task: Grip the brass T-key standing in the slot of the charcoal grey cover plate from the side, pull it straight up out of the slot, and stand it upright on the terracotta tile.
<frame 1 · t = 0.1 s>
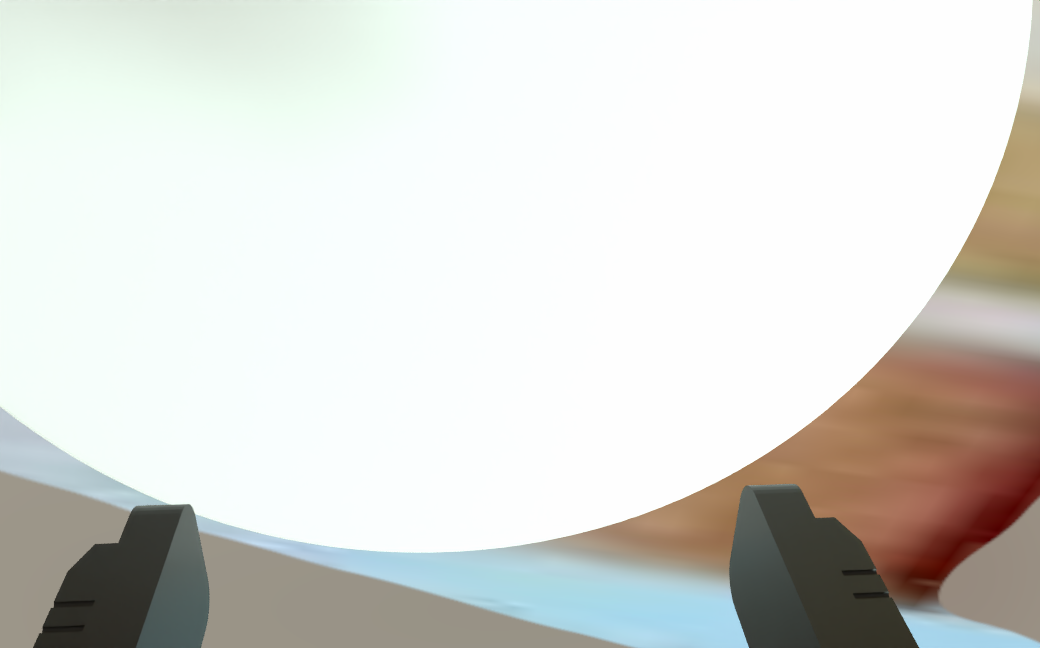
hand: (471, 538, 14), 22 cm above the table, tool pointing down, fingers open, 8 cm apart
plate stack: (434, 2, 32), on the table
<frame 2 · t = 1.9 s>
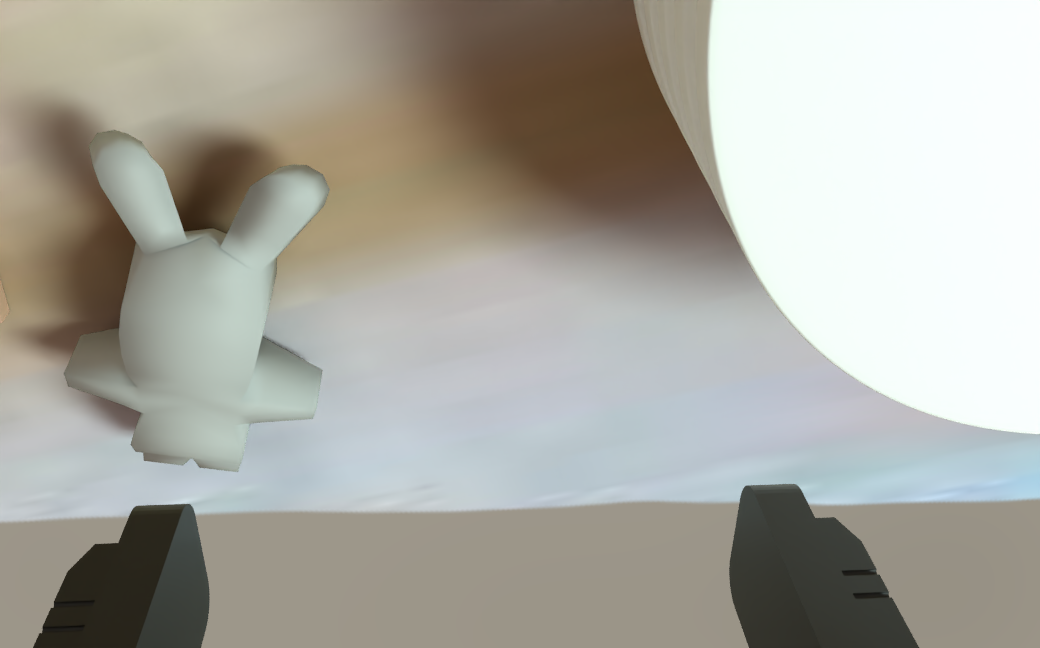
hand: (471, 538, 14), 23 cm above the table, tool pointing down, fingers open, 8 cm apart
bunny figurine: (214, 285, 39), on the table
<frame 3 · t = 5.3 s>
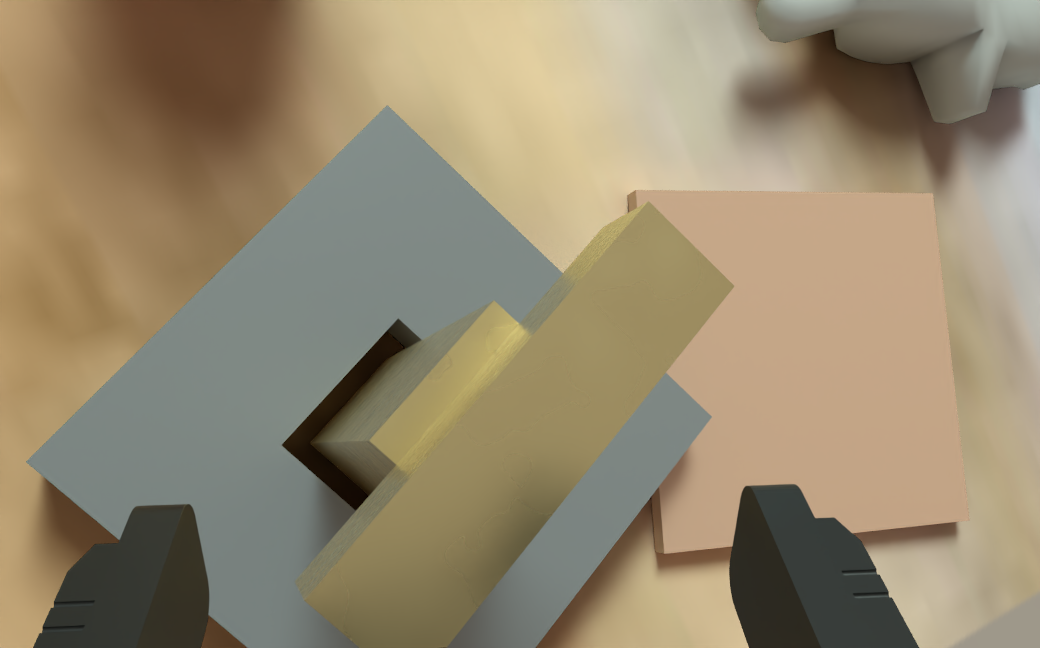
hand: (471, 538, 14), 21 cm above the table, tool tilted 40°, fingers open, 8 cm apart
bunny figurine: (874, 20, 44), on the table
t key: (440, 435, 27), in the cover plate
tile: (797, 362, 40), on the table
cover plate: (389, 437, 35), on the table
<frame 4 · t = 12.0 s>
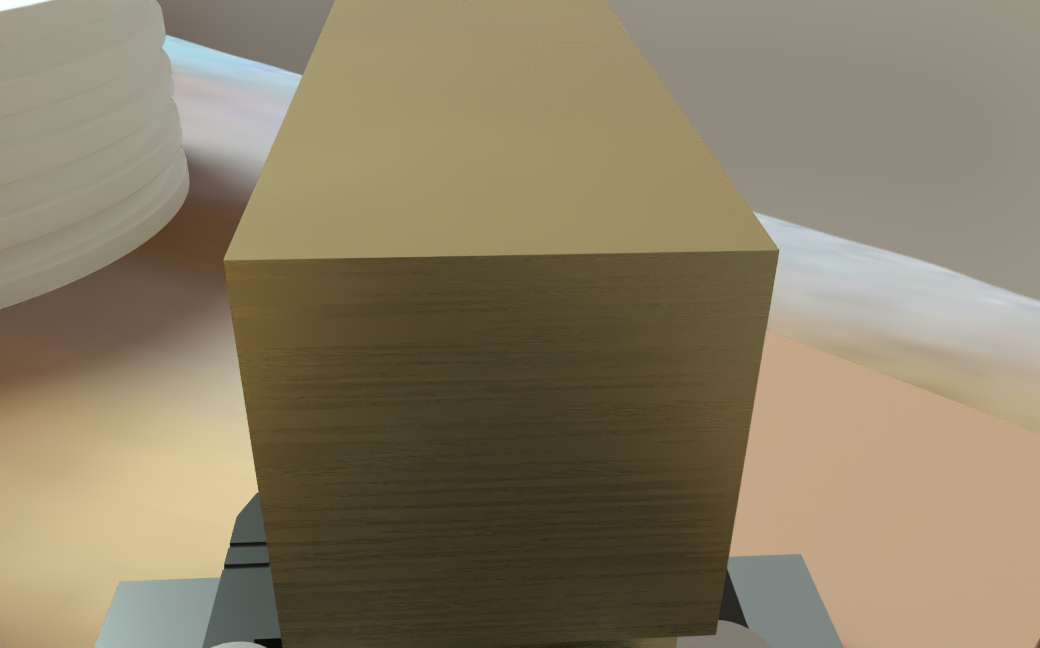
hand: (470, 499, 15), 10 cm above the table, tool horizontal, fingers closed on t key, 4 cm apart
tile: (811, 498, 30), on the table
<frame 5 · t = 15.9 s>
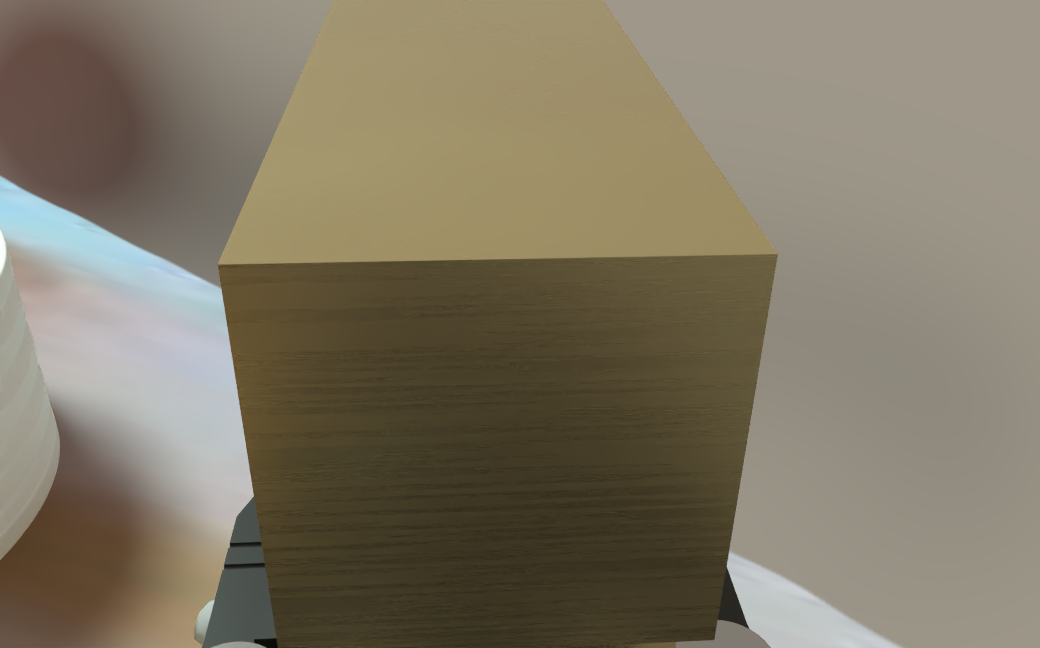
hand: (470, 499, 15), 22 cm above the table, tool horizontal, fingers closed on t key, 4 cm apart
bunny figurine: (406, 640, 41), on the table
when the fingers open (11 cm above the table, at t = 19.6 s): t key stays where it is, resting on tile.
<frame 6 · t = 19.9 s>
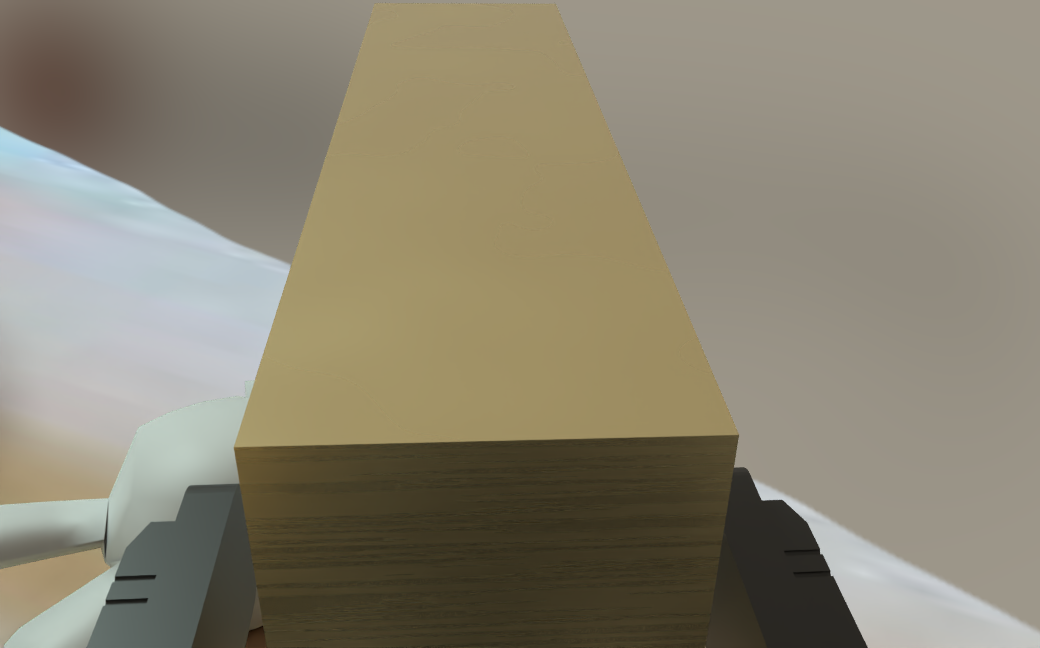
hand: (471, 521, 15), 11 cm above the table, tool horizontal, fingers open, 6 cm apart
bunny figurine: (261, 573, 30), on the table
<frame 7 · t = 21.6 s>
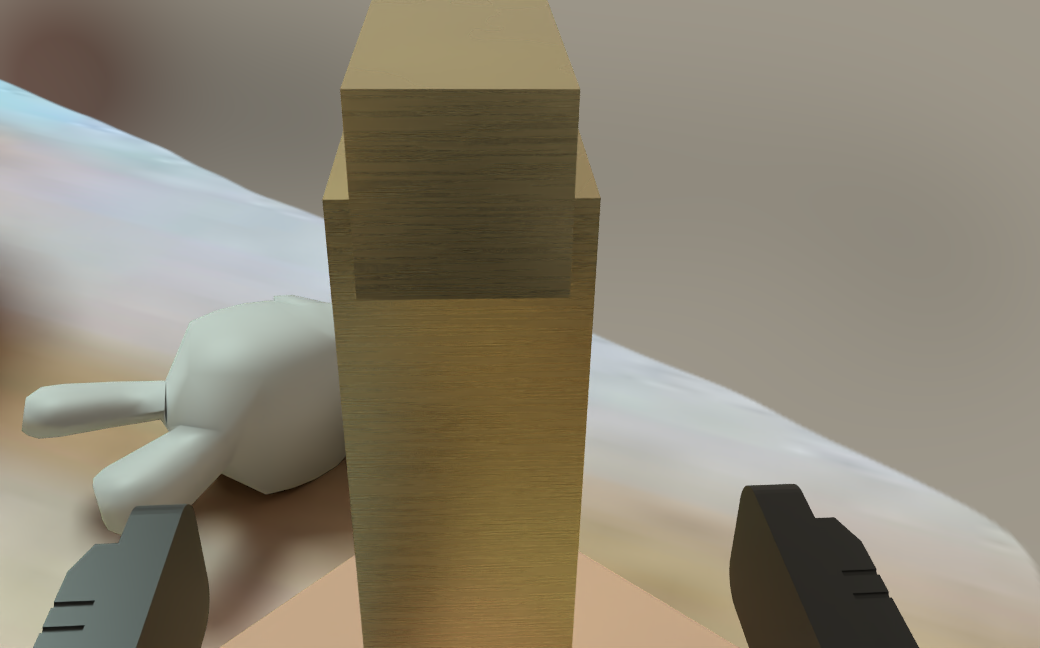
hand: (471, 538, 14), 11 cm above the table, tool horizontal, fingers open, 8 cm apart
bunny figurine: (291, 452, 35), on the table
t key: (466, 457, 19), on the tile, point 10 cm above the table
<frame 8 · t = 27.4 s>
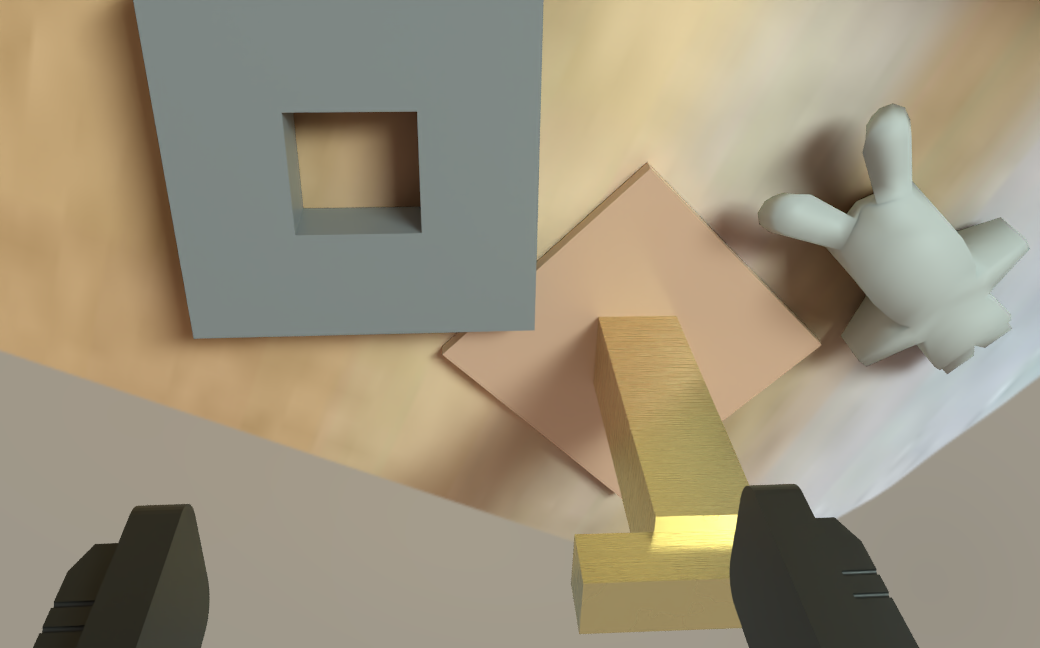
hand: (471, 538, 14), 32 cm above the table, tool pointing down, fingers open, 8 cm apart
bunny figurine: (882, 235, 49), on the table
t key: (668, 454, 43), on the tile, point 10 cm above the table
tile: (632, 341, 51), on the table
cover plate: (359, 151, 45), on the table
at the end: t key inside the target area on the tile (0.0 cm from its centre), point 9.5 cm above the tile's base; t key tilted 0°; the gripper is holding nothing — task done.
